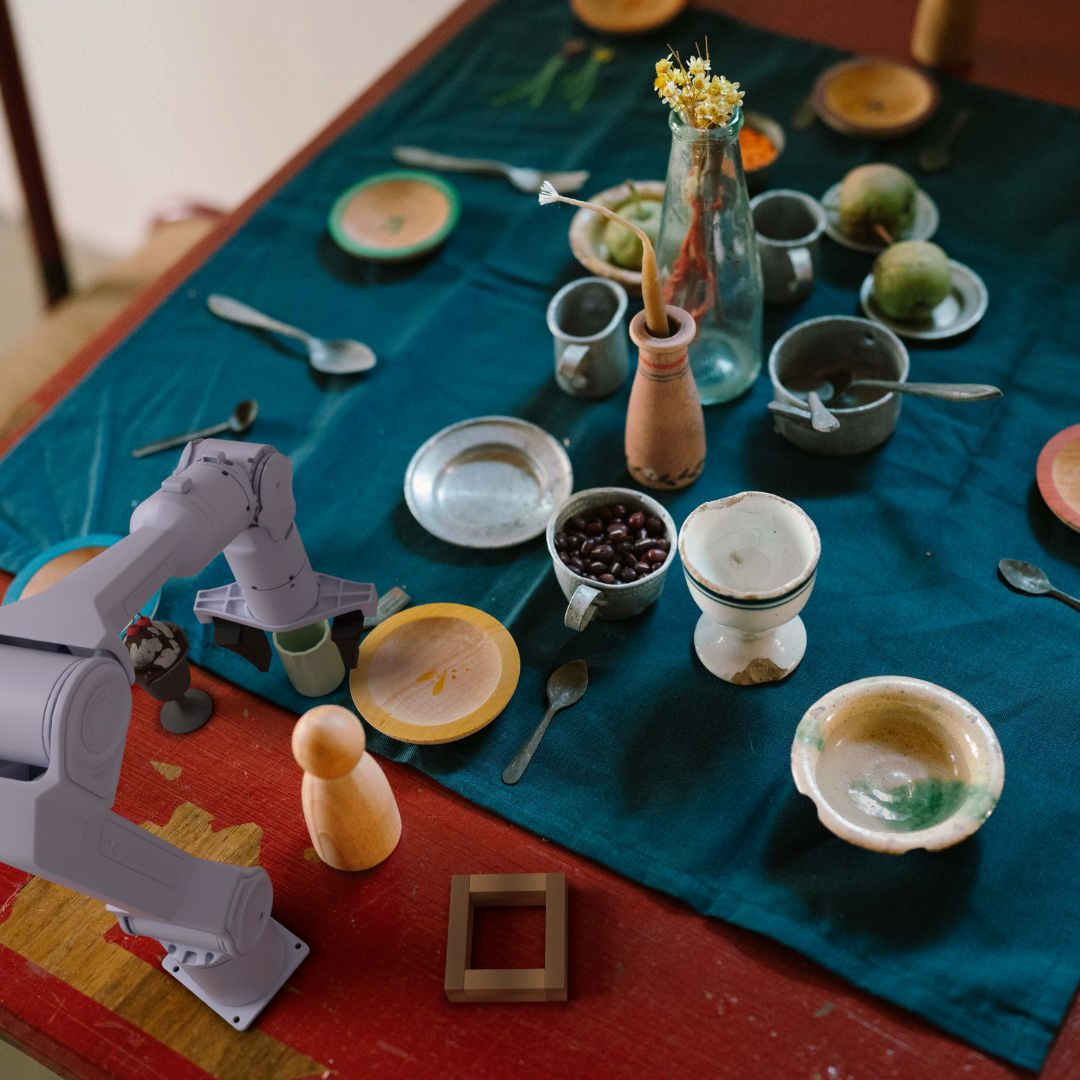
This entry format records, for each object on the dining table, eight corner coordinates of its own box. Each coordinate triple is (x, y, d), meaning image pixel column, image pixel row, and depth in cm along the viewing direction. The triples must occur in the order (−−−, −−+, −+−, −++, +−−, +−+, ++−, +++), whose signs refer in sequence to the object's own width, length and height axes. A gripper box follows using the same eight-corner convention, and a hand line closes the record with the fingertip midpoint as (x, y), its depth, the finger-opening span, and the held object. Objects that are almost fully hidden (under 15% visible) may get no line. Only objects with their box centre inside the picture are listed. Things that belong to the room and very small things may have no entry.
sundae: (190, 669, 114) (137, 575, 102) (235, 705, 110) (185, 611, 99) (137, 717, 111) (75, 624, 99) (181, 754, 108) (123, 664, 96)
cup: (280, 681, 112) (260, 639, 107) (317, 642, 114) (300, 599, 109) (319, 706, 110) (301, 664, 104) (356, 666, 112) (341, 624, 107)
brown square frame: (449, 1002, 91) (444, 989, 89) (457, 889, 97) (451, 874, 95) (567, 1001, 90) (564, 988, 88) (567, 887, 96) (565, 872, 94)
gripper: (367, 518, 92) (397, 620, 102) (188, 526, 93) (236, 626, 104) (357, 589, 88) (390, 687, 98) (169, 597, 89) (221, 693, 99)
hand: (310, 661), depth 100 cm, fingers open, 7 cm apart
